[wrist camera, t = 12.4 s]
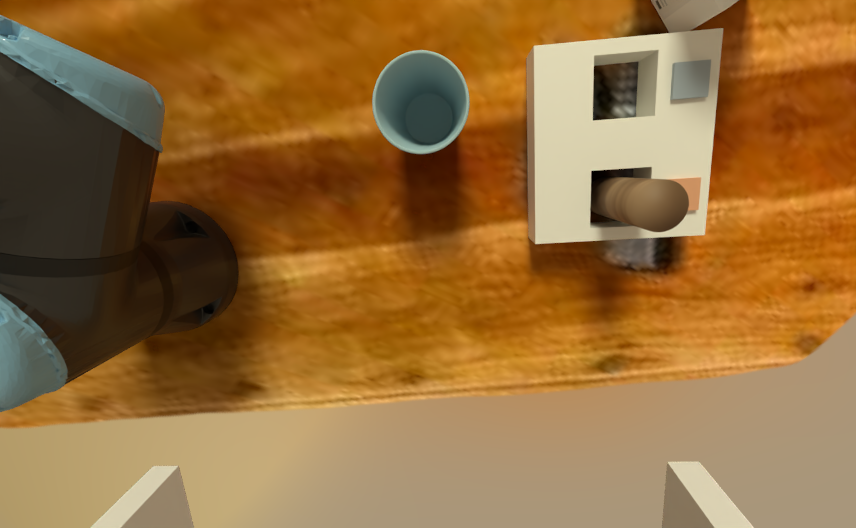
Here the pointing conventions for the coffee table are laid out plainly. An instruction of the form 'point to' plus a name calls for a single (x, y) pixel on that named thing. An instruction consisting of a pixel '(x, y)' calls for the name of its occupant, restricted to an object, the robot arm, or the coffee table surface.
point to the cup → (420, 102)
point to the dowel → (640, 201)
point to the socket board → (619, 130)
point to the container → (688, 12)
